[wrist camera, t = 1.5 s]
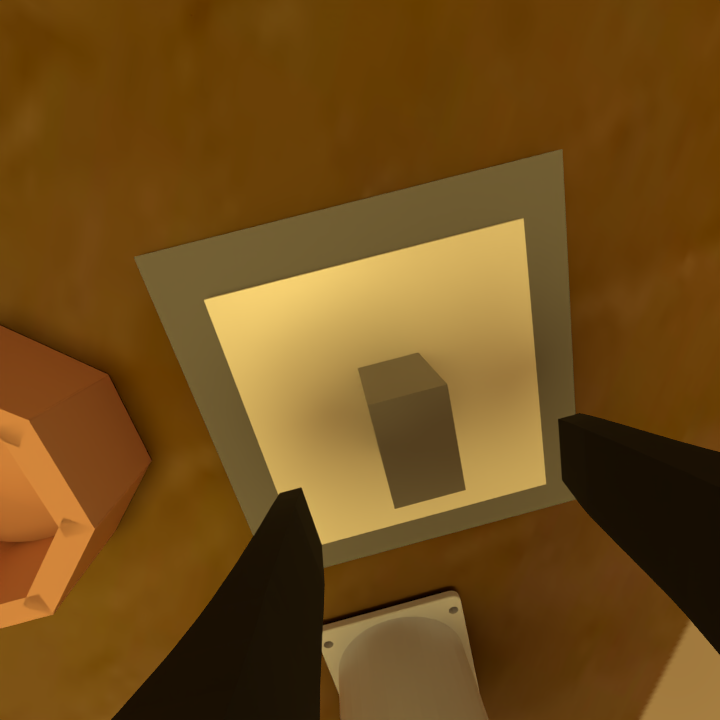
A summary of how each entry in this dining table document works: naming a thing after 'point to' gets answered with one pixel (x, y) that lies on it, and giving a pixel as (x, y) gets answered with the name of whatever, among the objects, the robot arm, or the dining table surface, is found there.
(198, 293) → the mat
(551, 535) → the dining table surface
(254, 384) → the lid
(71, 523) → the bowl
